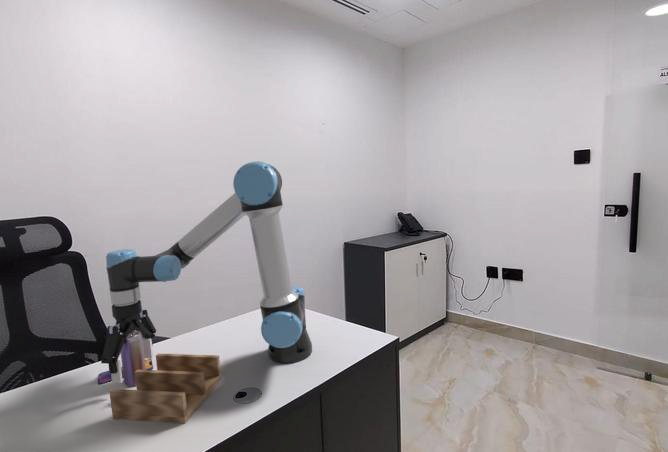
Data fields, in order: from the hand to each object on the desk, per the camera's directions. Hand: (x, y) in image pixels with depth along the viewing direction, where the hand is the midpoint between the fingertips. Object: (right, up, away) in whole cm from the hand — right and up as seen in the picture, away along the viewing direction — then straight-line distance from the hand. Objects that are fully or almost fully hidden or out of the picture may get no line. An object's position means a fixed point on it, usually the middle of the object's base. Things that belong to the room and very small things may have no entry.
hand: (134, 369), depth 106 cm
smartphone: (-6, -4, +6) cm, 10 cm away
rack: (+15, -4, -8) cm, 18 cm away
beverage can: (0, -4, +1) cm, 4 cm away
